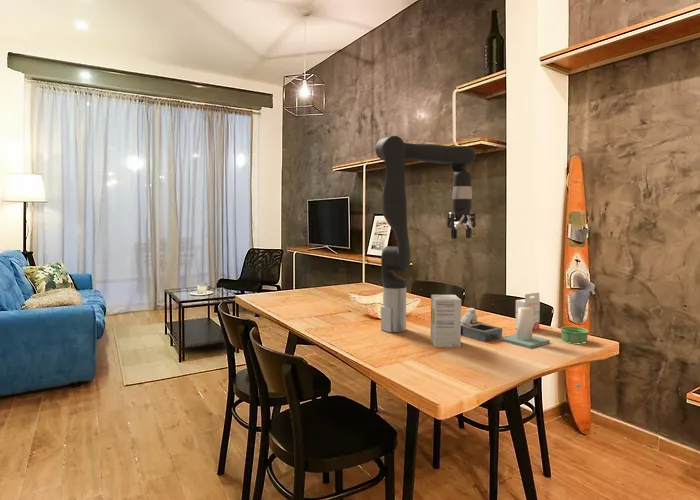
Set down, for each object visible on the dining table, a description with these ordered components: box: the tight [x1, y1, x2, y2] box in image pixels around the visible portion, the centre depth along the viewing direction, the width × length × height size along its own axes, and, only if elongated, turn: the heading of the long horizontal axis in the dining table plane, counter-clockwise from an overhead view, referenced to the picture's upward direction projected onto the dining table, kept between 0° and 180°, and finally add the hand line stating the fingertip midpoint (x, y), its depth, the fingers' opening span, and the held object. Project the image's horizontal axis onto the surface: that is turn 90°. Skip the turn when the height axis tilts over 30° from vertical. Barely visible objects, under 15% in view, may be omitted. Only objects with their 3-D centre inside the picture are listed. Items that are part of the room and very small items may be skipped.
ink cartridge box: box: [515, 292, 541, 331], centre depth 174 cm, size 9×5×15 cm, turn 117°
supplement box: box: [430, 294, 462, 348], centre depth 154 cm, size 10×9×17 cm
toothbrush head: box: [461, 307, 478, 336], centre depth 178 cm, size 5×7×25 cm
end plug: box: [516, 307, 533, 341], centre depth 156 cm, size 5×5×11 cm
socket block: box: [462, 322, 503, 343], centre depth 163 cm, size 10×10×4 cm
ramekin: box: [560, 325, 589, 344], centre depth 157 cm, size 9×9×4 cm
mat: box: [499, 332, 551, 349], centre depth 157 cm, size 12×12×1 cm
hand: (461, 238), depth 176 cm, fingers open, 8 cm apart
